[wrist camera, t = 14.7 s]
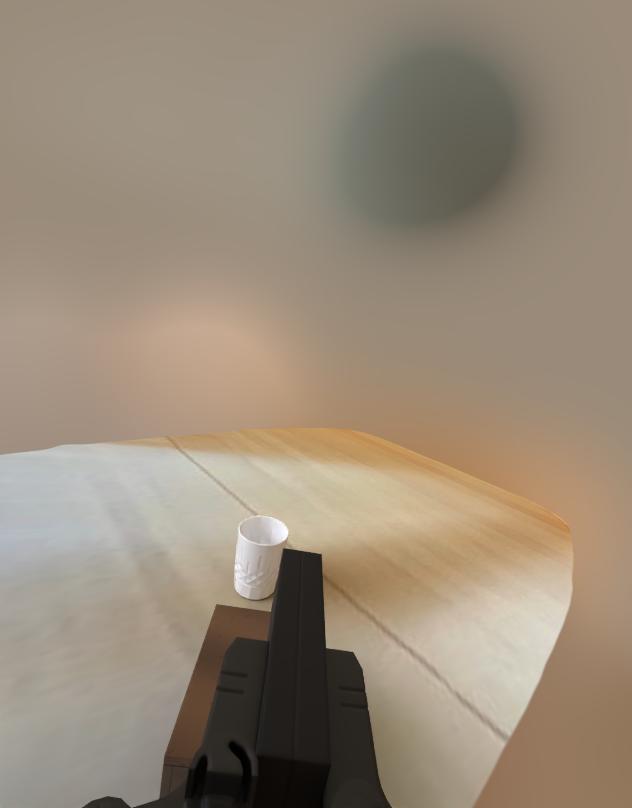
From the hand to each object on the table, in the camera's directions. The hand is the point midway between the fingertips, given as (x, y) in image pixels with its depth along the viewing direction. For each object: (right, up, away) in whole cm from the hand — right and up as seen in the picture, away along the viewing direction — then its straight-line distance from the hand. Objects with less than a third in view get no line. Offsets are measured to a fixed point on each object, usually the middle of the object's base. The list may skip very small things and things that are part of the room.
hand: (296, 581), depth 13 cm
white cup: (-9, -22, +43) cm, 49 cm away
